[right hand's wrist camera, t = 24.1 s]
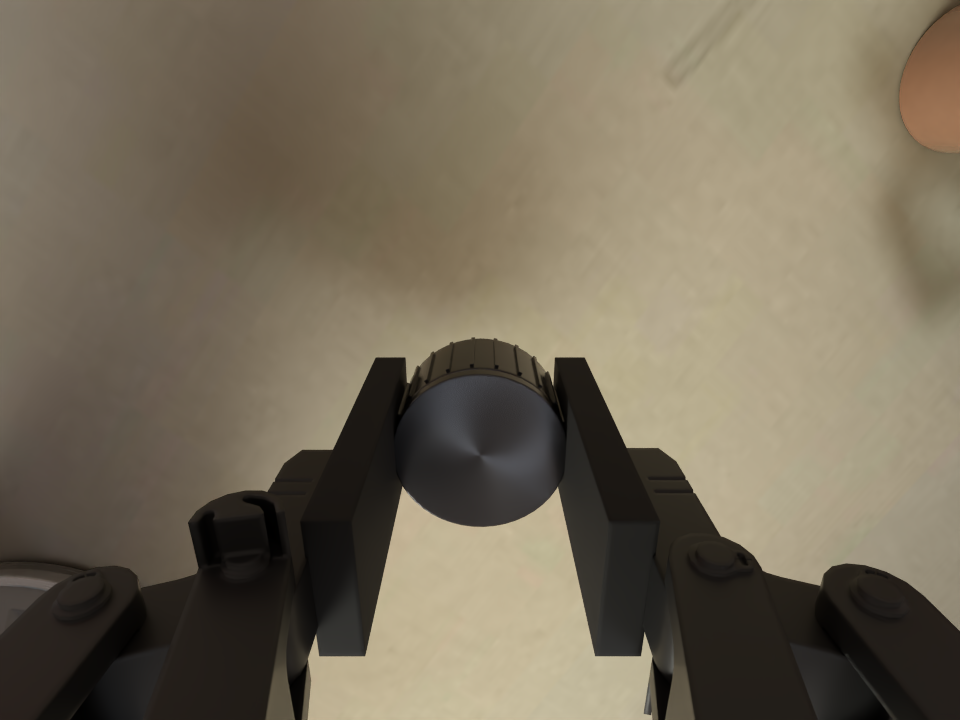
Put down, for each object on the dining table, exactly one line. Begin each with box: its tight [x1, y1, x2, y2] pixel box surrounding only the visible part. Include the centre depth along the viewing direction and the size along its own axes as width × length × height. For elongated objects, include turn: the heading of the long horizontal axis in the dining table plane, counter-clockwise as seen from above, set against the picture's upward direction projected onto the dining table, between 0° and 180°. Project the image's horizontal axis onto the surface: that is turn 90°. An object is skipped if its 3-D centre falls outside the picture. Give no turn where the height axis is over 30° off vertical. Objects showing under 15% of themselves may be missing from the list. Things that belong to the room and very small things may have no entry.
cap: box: [394, 337, 567, 527], centre depth 14 cm, size 4×4×2 cm
